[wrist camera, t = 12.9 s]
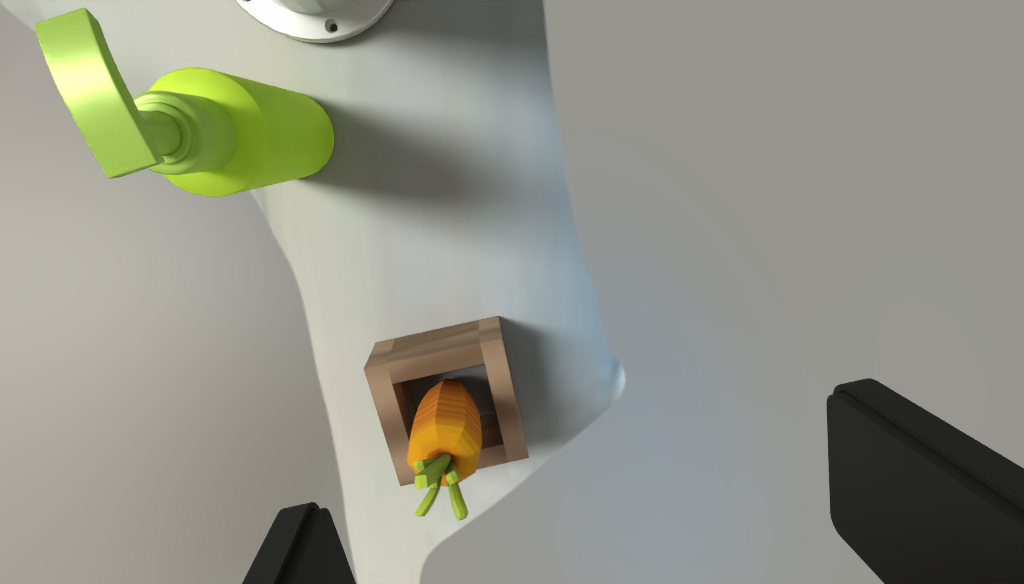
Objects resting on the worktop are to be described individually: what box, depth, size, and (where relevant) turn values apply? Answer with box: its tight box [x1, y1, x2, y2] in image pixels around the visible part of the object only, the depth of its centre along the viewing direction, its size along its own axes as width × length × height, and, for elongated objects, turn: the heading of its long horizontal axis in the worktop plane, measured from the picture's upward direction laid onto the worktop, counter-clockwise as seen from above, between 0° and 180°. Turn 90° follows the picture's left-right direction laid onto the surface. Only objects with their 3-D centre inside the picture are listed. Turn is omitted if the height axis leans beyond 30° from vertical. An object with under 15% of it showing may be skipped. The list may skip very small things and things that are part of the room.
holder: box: [364, 316, 529, 486], centre depth 42 cm, size 10×10×5 cm
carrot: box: [407, 379, 482, 520], centre depth 37 cm, size 5×5×15 cm
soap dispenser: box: [35, 8, 335, 197], centre depth 28 cm, size 6×7×20 cm
